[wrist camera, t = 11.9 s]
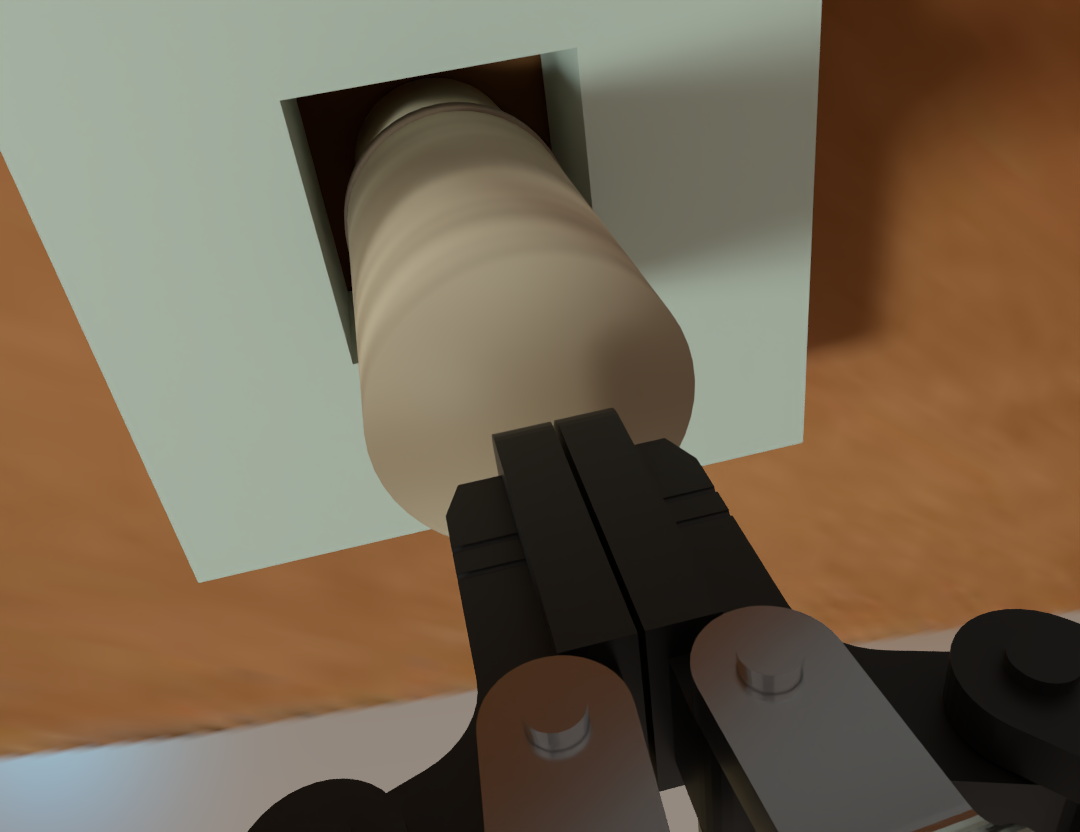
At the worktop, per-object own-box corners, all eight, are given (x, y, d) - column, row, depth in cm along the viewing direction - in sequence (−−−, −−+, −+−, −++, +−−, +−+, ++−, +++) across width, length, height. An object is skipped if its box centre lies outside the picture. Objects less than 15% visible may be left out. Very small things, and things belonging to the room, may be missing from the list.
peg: (317, 81, 21) (318, 295, 11) (517, 45, 21) (693, 220, 11) (364, 268, 23) (400, 580, 13) (541, 233, 24) (702, 509, 14)
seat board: (-61, -176, 17) (-152, -182, 14) (743, -290, 19) (835, -320, 15) (213, 488, 26) (198, 583, 22) (744, 370, 27) (802, 442, 24)
